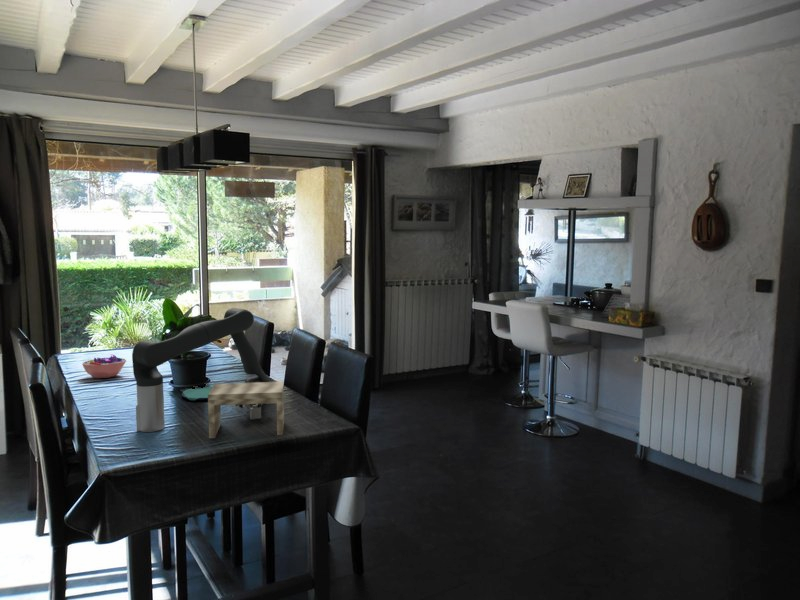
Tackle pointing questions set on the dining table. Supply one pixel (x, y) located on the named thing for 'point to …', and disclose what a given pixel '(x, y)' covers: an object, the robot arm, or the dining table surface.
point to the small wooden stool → (244, 400)
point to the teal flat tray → (197, 393)
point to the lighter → (254, 411)
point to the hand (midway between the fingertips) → (250, 405)
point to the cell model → (104, 366)
